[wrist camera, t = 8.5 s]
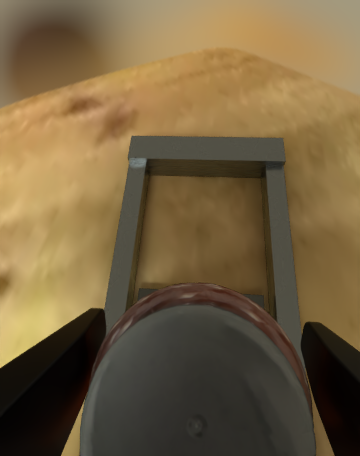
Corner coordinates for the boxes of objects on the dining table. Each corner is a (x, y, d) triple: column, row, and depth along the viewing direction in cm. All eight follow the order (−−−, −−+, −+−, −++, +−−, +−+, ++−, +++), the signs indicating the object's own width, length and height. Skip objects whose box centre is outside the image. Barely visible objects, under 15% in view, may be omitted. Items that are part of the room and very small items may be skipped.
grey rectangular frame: (306, 484, 13) (324, 506, 11) (88, 461, 14) (71, 478, 12) (275, 156, 21) (283, 138, 19) (137, 153, 22) (131, 135, 20)
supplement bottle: (201, 287, 16) (207, 197, 6) (276, 371, 15) (477, 451, 4) (123, 358, 15) (-40, 400, 5) (194, 460, 13) (181, 898, 3)
